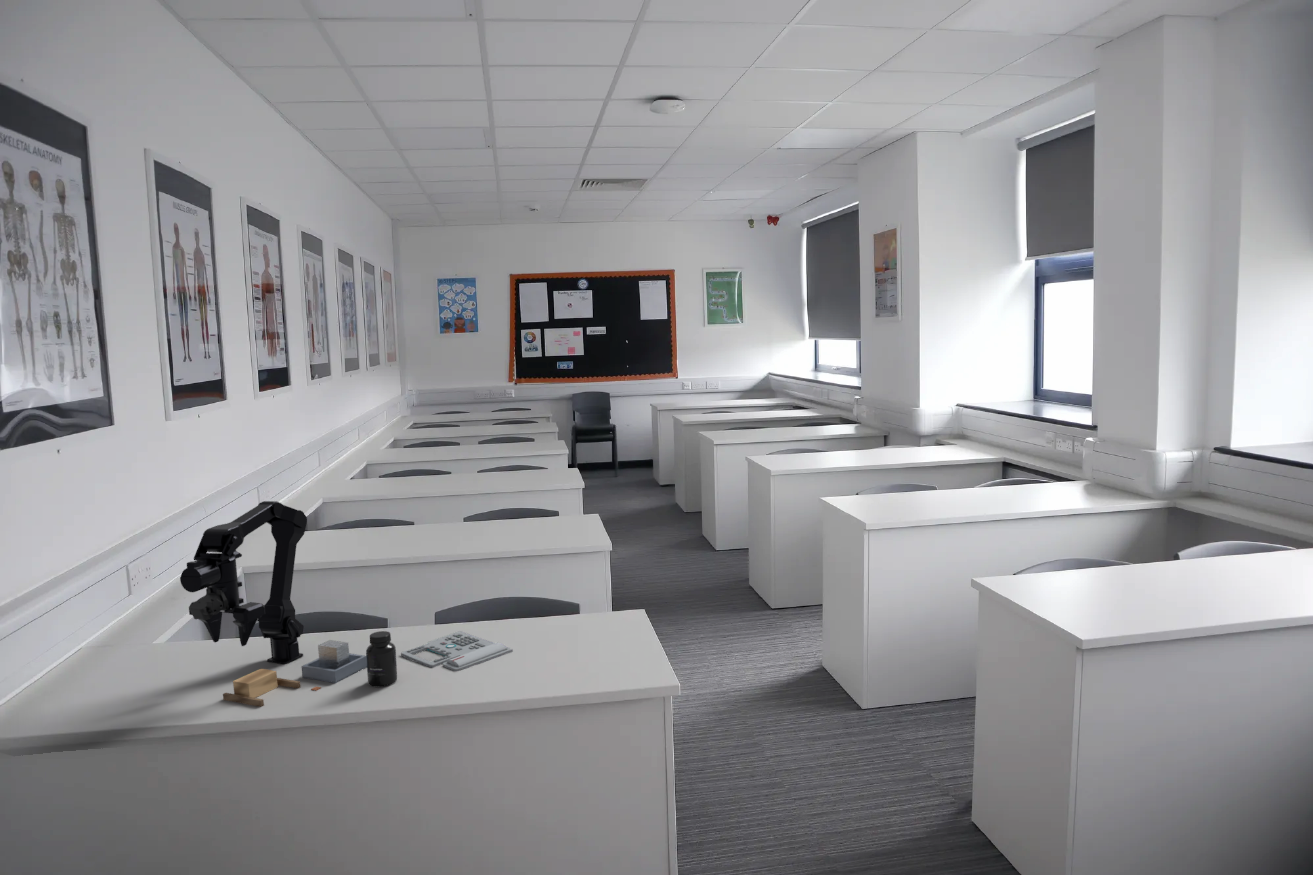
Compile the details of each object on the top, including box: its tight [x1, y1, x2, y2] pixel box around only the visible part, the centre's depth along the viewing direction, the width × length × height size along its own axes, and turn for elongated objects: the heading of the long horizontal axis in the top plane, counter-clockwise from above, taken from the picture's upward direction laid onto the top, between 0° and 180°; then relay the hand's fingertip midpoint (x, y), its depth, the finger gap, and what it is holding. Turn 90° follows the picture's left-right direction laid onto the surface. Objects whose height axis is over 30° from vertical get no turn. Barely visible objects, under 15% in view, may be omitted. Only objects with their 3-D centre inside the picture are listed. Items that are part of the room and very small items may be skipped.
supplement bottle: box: [365, 630, 398, 688], centre depth 206 cm, size 7×7×12 cm
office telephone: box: [400, 630, 513, 672], centre depth 224 cm, size 23×3×20 cm
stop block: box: [317, 639, 350, 670], centre depth 213 cm, size 6×4×7 cm, turn 66°
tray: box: [300, 652, 367, 684], centre depth 214 cm, size 11×11×3 cm
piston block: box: [232, 668, 279, 698], centre depth 202 cm, size 5×8×4 cm, turn 157°
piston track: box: [222, 677, 322, 708], centre depth 201 cm, size 17×13×2 cm
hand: (229, 643), depth 205 cm, fingers open, 9 cm apart
